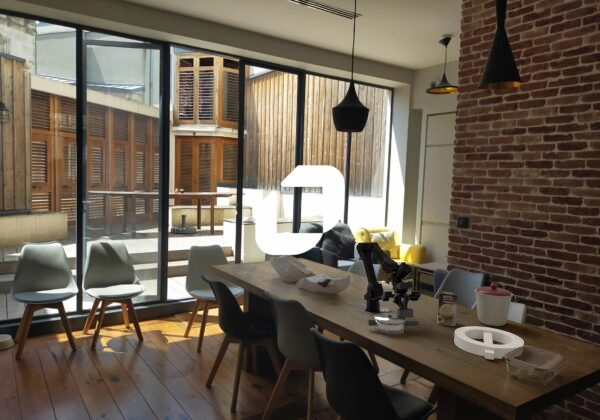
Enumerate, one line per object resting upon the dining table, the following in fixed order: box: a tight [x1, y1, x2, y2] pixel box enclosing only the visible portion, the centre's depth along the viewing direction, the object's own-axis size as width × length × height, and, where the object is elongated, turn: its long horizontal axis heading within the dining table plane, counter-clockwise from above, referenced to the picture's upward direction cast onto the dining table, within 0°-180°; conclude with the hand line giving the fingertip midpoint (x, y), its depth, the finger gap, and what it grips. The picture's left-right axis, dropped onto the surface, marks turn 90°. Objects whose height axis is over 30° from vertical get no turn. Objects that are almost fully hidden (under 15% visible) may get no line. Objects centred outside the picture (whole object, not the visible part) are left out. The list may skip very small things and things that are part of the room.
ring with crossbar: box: [453, 325, 525, 361], centre depth 194 cm, size 28×28×5 cm
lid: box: [373, 307, 414, 324], centre depth 211 cm, size 15×19×5 cm
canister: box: [474, 282, 514, 327], centre depth 227 cm, size 18×18×21 cm
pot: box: [367, 319, 419, 336], centre depth 211 cm, size 14×24×5 cm, turn 97°
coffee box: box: [436, 290, 458, 327], centre depth 224 cm, size 9×6×16 cm
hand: (405, 311), depth 214 cm, fingers closed
